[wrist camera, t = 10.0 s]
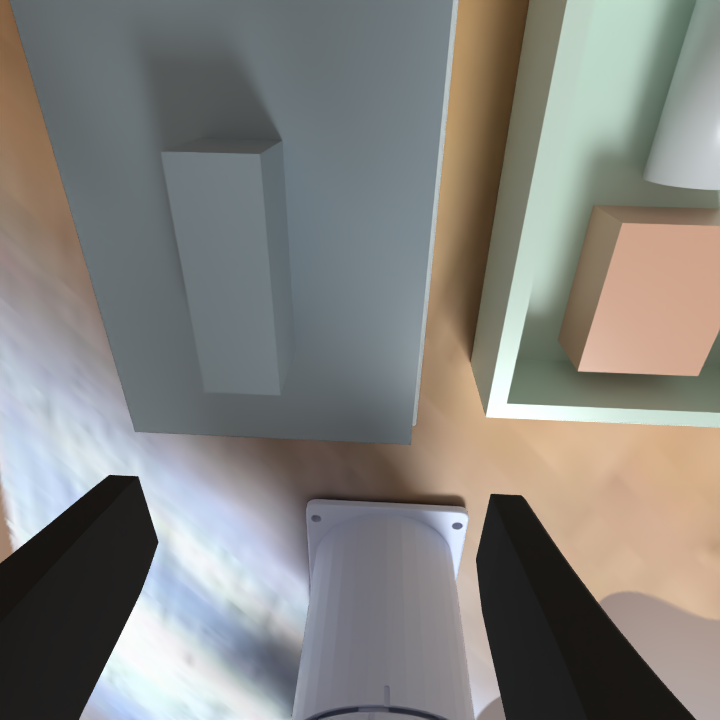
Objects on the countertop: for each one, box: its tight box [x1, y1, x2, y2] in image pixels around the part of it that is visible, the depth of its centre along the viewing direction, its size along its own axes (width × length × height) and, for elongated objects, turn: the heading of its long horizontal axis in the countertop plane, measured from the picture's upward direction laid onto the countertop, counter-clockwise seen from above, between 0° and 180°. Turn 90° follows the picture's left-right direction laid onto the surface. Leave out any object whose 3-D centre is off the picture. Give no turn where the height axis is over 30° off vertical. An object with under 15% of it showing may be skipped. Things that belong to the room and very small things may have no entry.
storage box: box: [471, 0, 720, 427], centre depth 14 cm, size 14×10×4 cm
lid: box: [9, 0, 453, 445], centre depth 15 cm, size 15×11×4 cm
